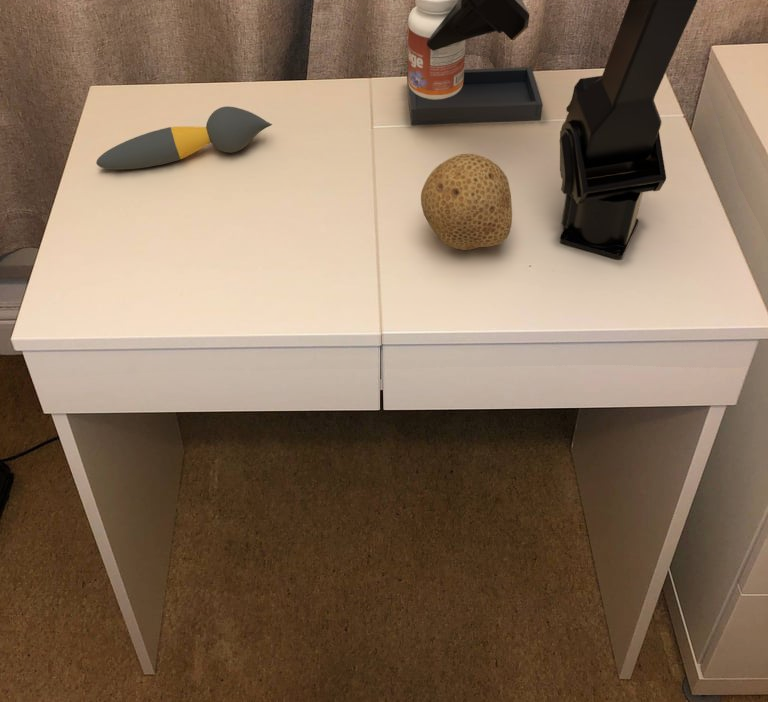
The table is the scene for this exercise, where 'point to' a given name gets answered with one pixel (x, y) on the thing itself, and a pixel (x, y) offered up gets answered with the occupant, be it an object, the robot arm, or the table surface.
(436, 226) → the natural sponge
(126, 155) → the paintbrush
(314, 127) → the table surface
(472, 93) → the tray
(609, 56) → the robot arm
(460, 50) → the pill bottle
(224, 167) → the table surface
